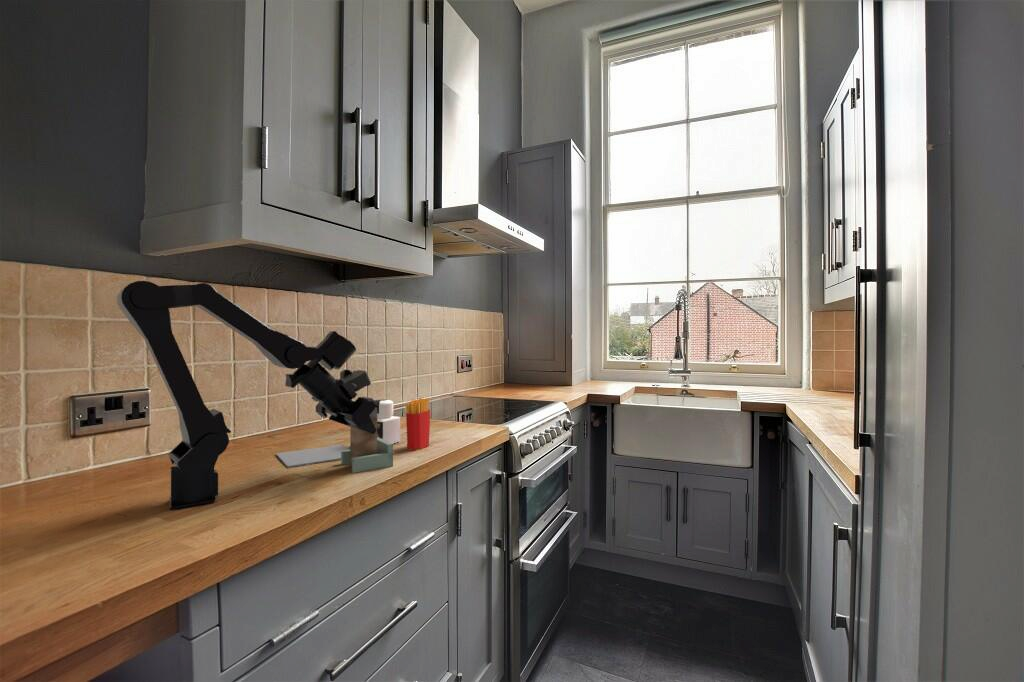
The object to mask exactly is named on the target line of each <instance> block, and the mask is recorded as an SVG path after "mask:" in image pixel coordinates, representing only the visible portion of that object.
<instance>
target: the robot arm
mask: <svg viewBox="0 0 1024 682" xmlns="http://www.w3.org/2000/svg"><path fill="white" fill-rule="evenodd" d="M116 302H117V306H118V308H119V309H120V310H121V312H122V313H123V315H124V316H125V317H126V318H127V320H128V321H129V323H130V324H131V325H132V326H133V328H134V329H135V330H136V331H137V332H138V334H139V335H141V337H142V339H143V340H144V342H145V344H146V347H147V348H148V351H149V352H150V355H151V356H152V358H153V361H154V362H155V366H156V367H157V370H158V372H159V373H160V376H161V378H162V380H163V382H164V384H165V387H166V389H167V391H168V393H169V396H170V397H171V399H172V402H173V404H174V406H175V408H176V410H177V413H178V420H179V428H180V433H181V437H182V440H181V441H180V442H179V443H178V444H177V445H176V446H175V447H174V448H172V450H171V451H169V452H168V455H167V456H168V458H169V460H170V462H171V464H172V465H174V466H171V467H170V497H169V509H170V510H177V509H182V508H187V507H193V506H198V505H204V504H210V503H215V502H216V501H217V499H216V497H217V496H218V495H219V471H218V470H217V469H215V466H216V464H217V461H218V459H219V456H221V455H222V454H223V453H224V452H225V451H226V450H227V447H228V446H229V444H230V439H229V434H231V433H232V431H231V429H229V428H228V427H227V425H226V422H225V418H224V414H223V412H222V411H220V410H217V409H215V408H211V409H209V408H208V407H207V405H205V402H204V401H203V398H202V396H201V394H200V392H199V389H198V387H197V385H196V382H195V380H194V378H193V376H192V374H191V371H190V368H189V366H188V365H187V362H186V360H185V358H184V356H183V354H182V351H181V350H180V347H179V345H178V342H177V339H176V338H175V335H174V333H173V330H172V322H171V312H170V309H176V308H187V307H198V308H199V309H200V310H202V311H203V312H205V313H207V314H208V315H209V316H211V317H212V318H214V319H216V320H218V321H219V323H222V324H224V325H225V326H226V327H228V328H230V329H231V330H232V331H234V332H236V333H237V334H239V335H240V336H242V337H243V338H244V339H247V340H248V341H249V342H251V343H252V344H253V345H254V346H255V347H256V348H257V349H258V350H259V352H260V353H261V354H262V355H263V356H264V357H265V358H266V359H267V360H269V362H270V363H272V364H273V365H275V366H276V367H278V368H282V369H283V368H284V369H290V370H293V369H294V370H295V371H293V373H286V374H285V384H284V385H285V387H287V388H291V389H294V388H296V387H297V385H300V387H302V388H303V389H304V390H305V391H306V392H307V393H308V394H309V395H310V396H312V397H311V399H312V400H313V401H314V402H315V403H316V402H317V404H316V405H315V412H316V413H317V414H318V415H319V416H320V417H322V418H325V419H326V418H328V420H330V421H333V422H335V423H339V424H341V425H344V426H347V427H350V426H352V427H355V428H358V429H361V430H363V431H366V432H369V433H372V434H375V432H376V431H377V430H376V428H375V426H374V424H373V422H372V420H371V418H370V414H371V413H372V412H373V410H374V409H375V408H376V407H377V403H376V402H375V399H374V398H372V397H367V396H358V397H357V395H358V393H357V392H358V391H360V390H362V389H363V388H365V387H368V386H370V385H371V384H372V382H371V379H370V377H369V375H368V372H367V371H366V370H360V369H358V370H353V371H351V370H350V369H344V370H342V371H340V373H339V375H340V376H339V378H338V379H337V378H335V376H333V375H332V374H331V373H330V372H329V371H332V370H333V369H334V370H340V369H341V368H342V367H343V366H344V365H345V363H346V362H348V360H349V359H350V358H351V357H352V356H353V355H354V354H355V353H356V352H357V347H356V346H355V345H354V343H353V342H352V341H350V339H349V340H348V339H347V338H346V337H344V336H343V335H341V334H339V332H337V331H335V330H331V331H329V332H328V333H327V334H326V336H325V338H323V340H322V341H320V343H318V345H316V346H307V345H306V344H305V343H304V342H303V341H300V340H298V339H296V338H295V337H292V336H290V335H288V334H285V333H282V332H280V331H277V330H275V329H273V328H271V327H269V326H267V325H266V324H265V323H264V322H262V321H260V320H259V319H258V318H256V317H254V315H252V314H250V313H249V312H247V311H246V310H244V309H243V307H240V306H239V305H238V304H236V303H235V302H234V301H231V300H230V299H228V298H227V297H226V296H224V295H223V294H221V293H220V292H218V291H217V290H216V289H215V287H214V286H212V285H211V284H209V283H204V282H202V283H201V282H200V283H196V284H175V285H174V284H173V285H158V284H155V283H154V282H152V281H147V280H136V281H133V282H131V283H129V284H127V285H126V286H124V287H123V288H122V289H120V290H119V292H118V294H117V296H116ZM307 362H308V363H307ZM356 397H357V398H356ZM355 398H356V399H355ZM354 399H355V400H354ZM328 414H329V415H330V416H328Z"/></svg>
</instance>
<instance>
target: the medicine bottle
mask: <svg viewBox="0 0 1024 682" xmlns="http://www.w3.org/2000/svg"><path fill="white" fill-rule="evenodd" d="M374 401H375V402H376V403H377V407H376V408H377V438H378V437H379V438H381V439H383V440H385V441H387V442H390V443H392V444H393V445H395V444H398V443H397V442H399V443H400V442H401V417H400V416H394V401H392V400H391V399H374ZM394 443H395V444H394Z"/></svg>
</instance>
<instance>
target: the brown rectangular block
mask: <svg viewBox="0 0 1024 682" xmlns="http://www.w3.org/2000/svg"><path fill="white" fill-rule="evenodd" d="M370 418H371V420H372V422H373V424H374V426H375V428H376V430H377V408H375V409H374V410H373V412H372V413H371V414H370ZM349 427H350V433H349V436H350V440H349V442H350V444H349V445H350V448H349V449H350V464H349V465H351V466H352V458H354V457H361V456H367V455H374V454H377V431H376V432H375V434H372V433H369V432H366V431H363V430H361V429H358V428H355V427H352V426H349Z"/></svg>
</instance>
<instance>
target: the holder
mask: <svg viewBox="0 0 1024 682" xmlns="http://www.w3.org/2000/svg"><path fill="white" fill-rule="evenodd" d="M340 464H341V465H343V466H345V464H346V465H351V464H350V450H344V451H341V460H340ZM389 466H391V467H393V466H394V444H392V443H390V442H387V441H385V440H383V439H381V438H379V437H378V438H377V454H374V455H367V456H361V457H354V458H352V465H351V473H352V474H353V473H355V472H356V473H361V472H360V471H362V472H367V471H373V470H378V468H379V469H384V468H383V467H385V468H390V467H389ZM372 469H373V470H372ZM356 473H355V474H356Z"/></svg>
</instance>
